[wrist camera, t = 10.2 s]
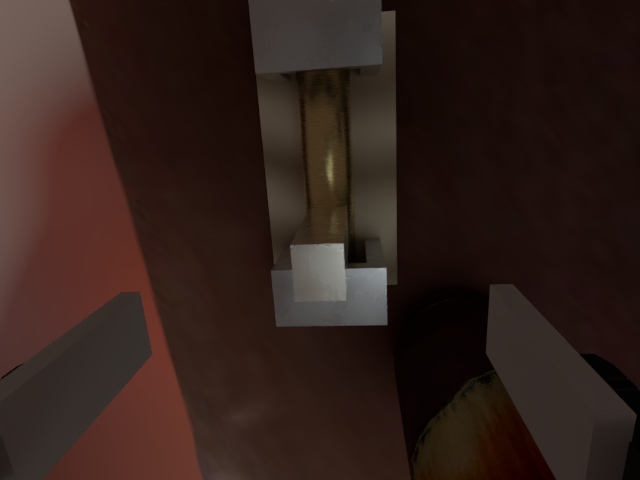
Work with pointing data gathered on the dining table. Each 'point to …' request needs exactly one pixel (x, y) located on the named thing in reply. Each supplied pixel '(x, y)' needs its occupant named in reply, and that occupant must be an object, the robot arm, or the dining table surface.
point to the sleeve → (315, 36)
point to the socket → (358, 309)
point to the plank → (368, 155)
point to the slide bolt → (325, 188)
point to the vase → (459, 399)
